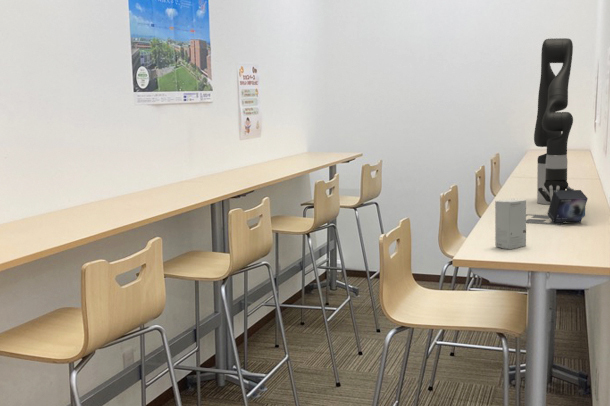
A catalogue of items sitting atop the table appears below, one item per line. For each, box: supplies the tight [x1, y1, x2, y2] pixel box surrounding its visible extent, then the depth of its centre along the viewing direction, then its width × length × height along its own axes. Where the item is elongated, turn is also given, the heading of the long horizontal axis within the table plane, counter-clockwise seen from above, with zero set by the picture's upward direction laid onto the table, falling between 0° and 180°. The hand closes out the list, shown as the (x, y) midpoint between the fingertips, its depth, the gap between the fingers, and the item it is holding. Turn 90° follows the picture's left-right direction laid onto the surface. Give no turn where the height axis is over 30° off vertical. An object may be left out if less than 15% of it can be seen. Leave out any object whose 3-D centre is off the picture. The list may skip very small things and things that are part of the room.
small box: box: [547, 189, 588, 224], centre depth 253 cm, size 11×6×10 cm, turn 96°
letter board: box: [526, 213, 564, 226], centre depth 263 cm, size 17×20×1 cm
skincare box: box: [494, 198, 527, 250], centre depth 219 cm, size 8×6×15 cm
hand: (555, 213), depth 259 cm, fingers closed
